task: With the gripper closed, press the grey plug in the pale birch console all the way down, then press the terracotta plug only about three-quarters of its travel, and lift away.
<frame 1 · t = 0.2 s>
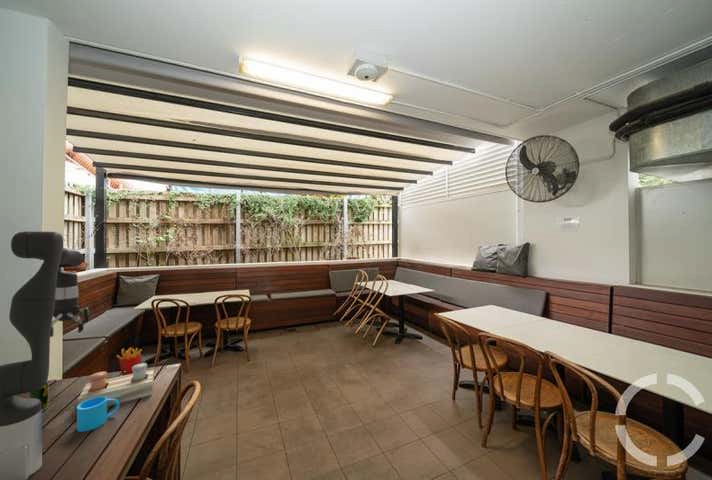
hand: (66, 334, 118), 29 cm above the table, tool pointing down, fingers open, 8 cm apart
beer can: (39, 410, 112), on the table
french fries: (130, 377, 138), on the table
grey plug: (139, 373, 126), point 8 cm above the table, slide at 0.0 cm
plug console: (119, 395, 122), on the table
mug: (99, 422, 105), on the table
terracotta plug: (98, 382, 118), point 8 cm above the table, slide at 0.0 cm
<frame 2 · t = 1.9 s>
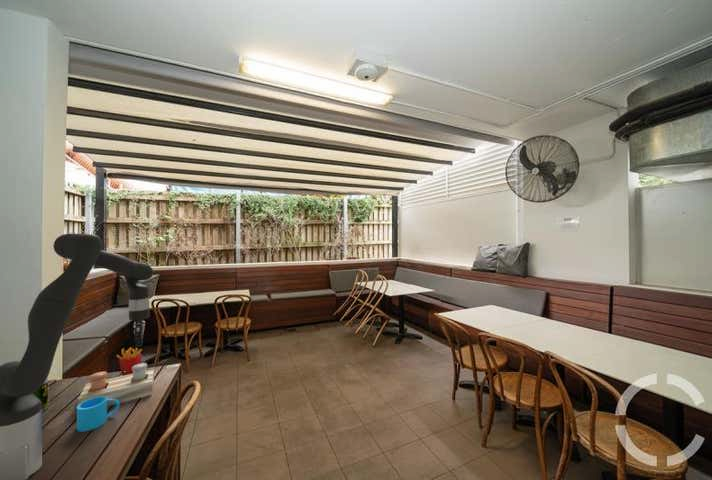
hand: (139, 345, 126), 21 cm above the table, tool pointing down, fingers open, 3 cm apart
nothing on the table moved.
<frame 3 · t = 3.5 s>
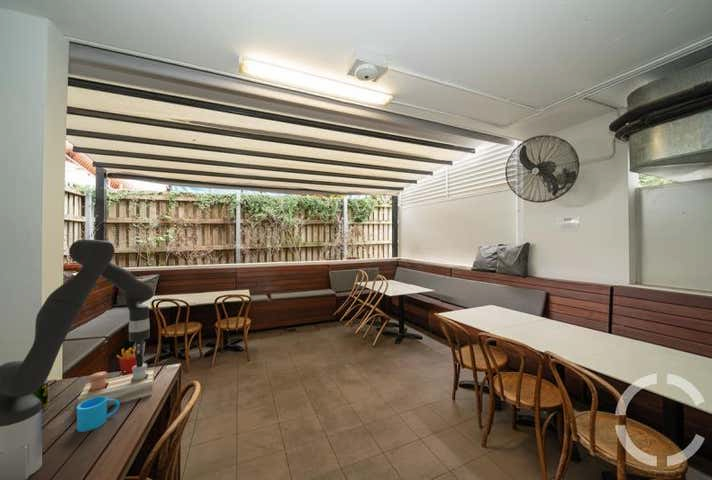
hand: (139, 366, 126), 11 cm above the table, tool pointing down, fingers closed
grey plug: (139, 373, 126), point 8 cm above the table, slide at 0.1 cm, touching gripper
everything else where it was.
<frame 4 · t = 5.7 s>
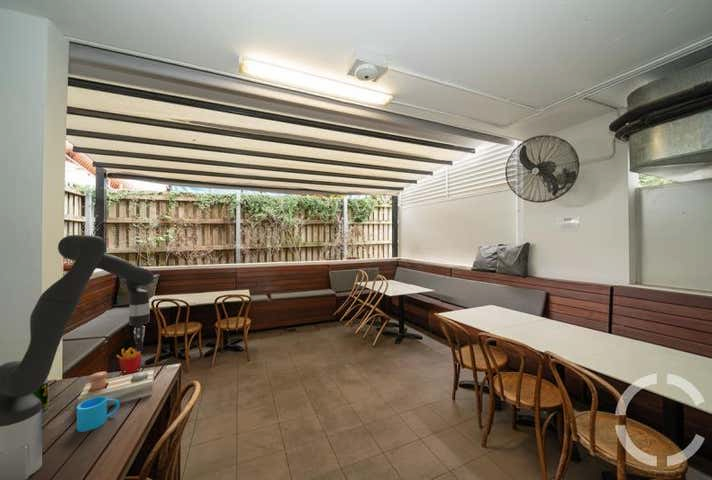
hand: (139, 350, 126), 19 cm above the table, tool pointing down, fingers closed
grey plug: (139, 382, 126), point 4 cm above the table, slide at 4.1 cm
everything else where it was.
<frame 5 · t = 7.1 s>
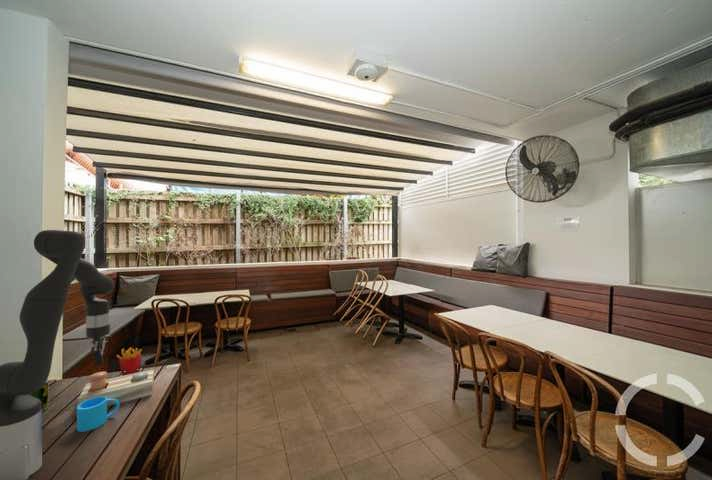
hand: (98, 364, 118), 16 cm above the table, tool pointing down, fingers closed
nothing on the table moved.
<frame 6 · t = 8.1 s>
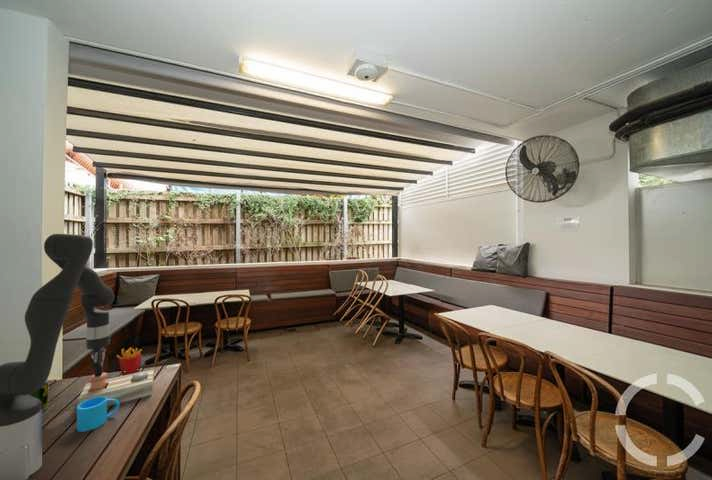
hand: (98, 375, 118), 11 cm above the table, tool pointing down, fingers closed
terracotta plug: (98, 383, 118), point 8 cm above the table, slide at 0.5 cm, touching gripper
everything else where it was.
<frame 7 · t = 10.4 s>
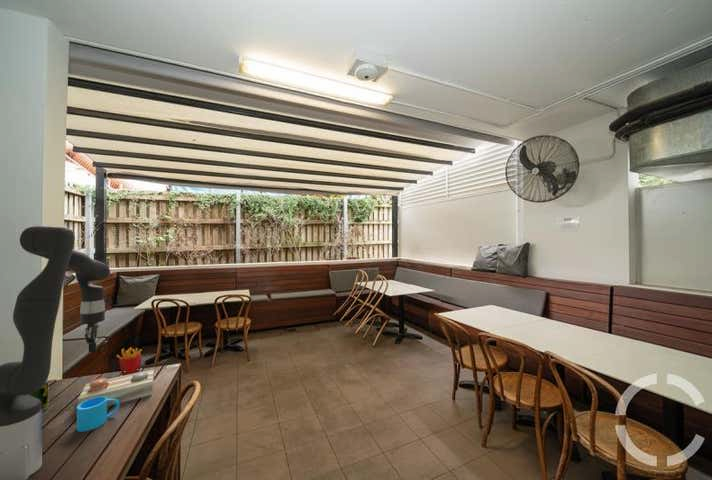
hand: (92, 351, 116), 22 cm above the table, tool pointing down, fingers closed
terracotta plug: (98, 389, 118), point 5 cm above the table, slide at 3.0 cm
everything else where it was.
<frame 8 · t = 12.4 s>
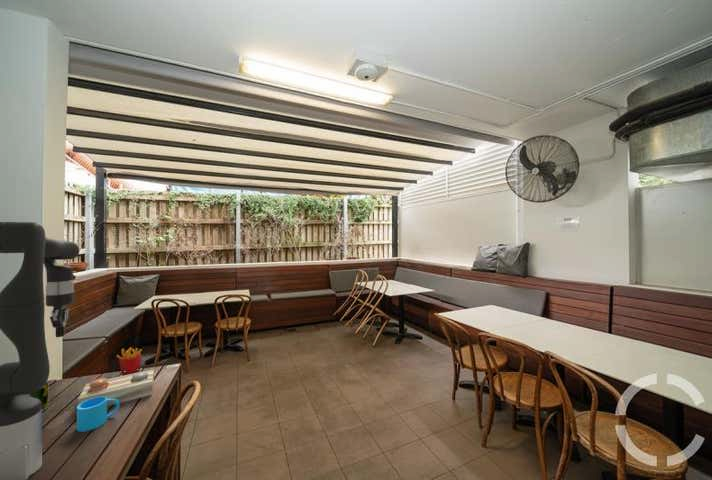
hand: (60, 336, 107), 32 cm above the table, tool pointing down, fingers closed
nothing on the table moved.
at the end: grey plug slide at 4.1 cm; terracotta plug slide at 3.0 cm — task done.
